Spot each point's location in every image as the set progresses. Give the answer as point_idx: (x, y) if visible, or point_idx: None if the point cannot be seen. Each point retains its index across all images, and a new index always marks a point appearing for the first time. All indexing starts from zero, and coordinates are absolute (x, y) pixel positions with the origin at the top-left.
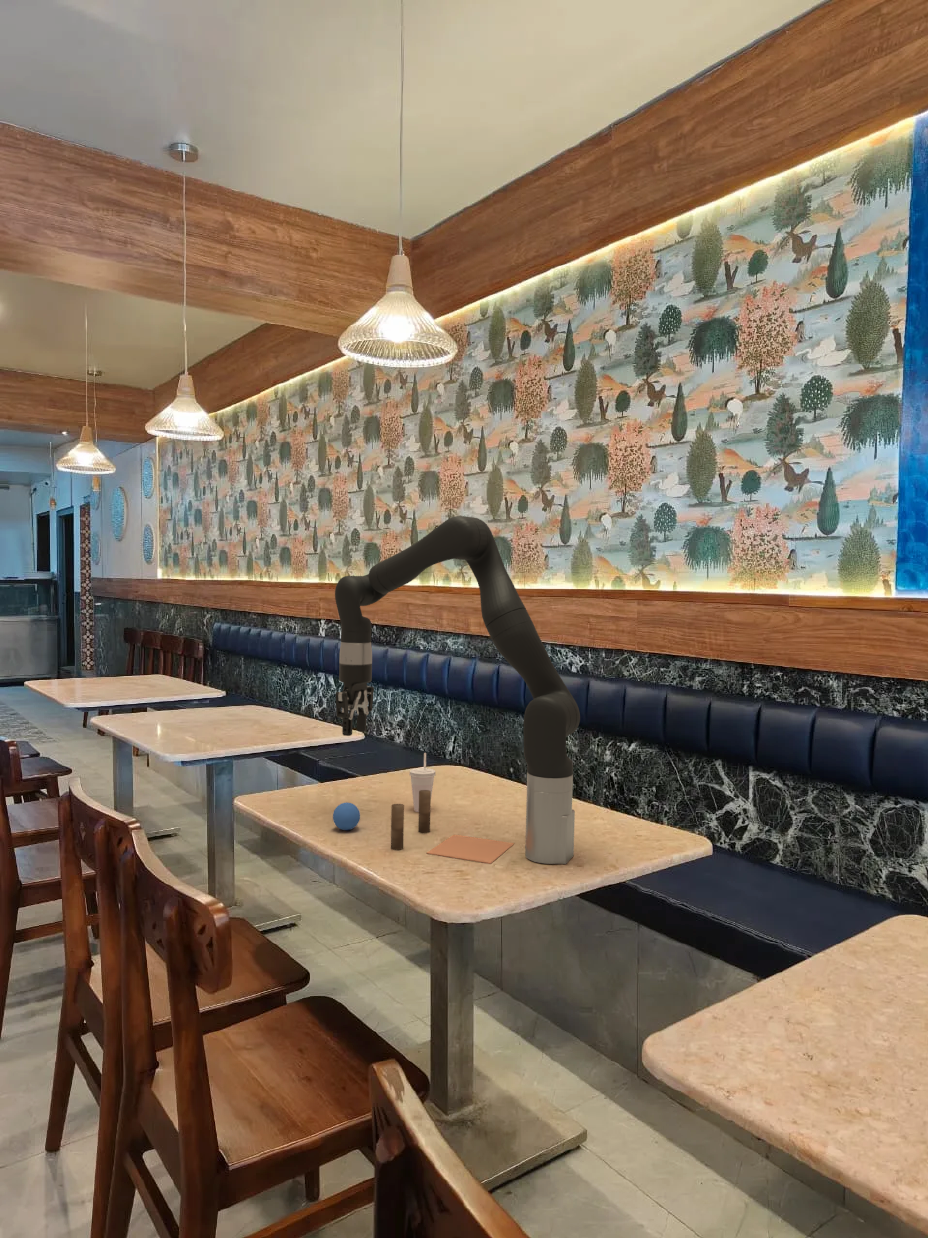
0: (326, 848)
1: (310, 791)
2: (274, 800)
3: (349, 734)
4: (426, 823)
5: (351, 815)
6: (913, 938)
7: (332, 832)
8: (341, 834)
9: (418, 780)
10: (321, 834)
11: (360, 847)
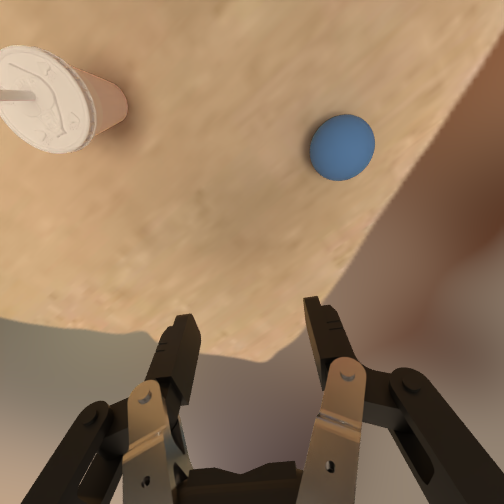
0: (466, 86)
1: None
2: (255, 335)
3: (319, 301)
4: None
5: (363, 121)
6: None
7: None
8: None
9: (89, 91)
10: (379, 164)
11: (438, 15)
